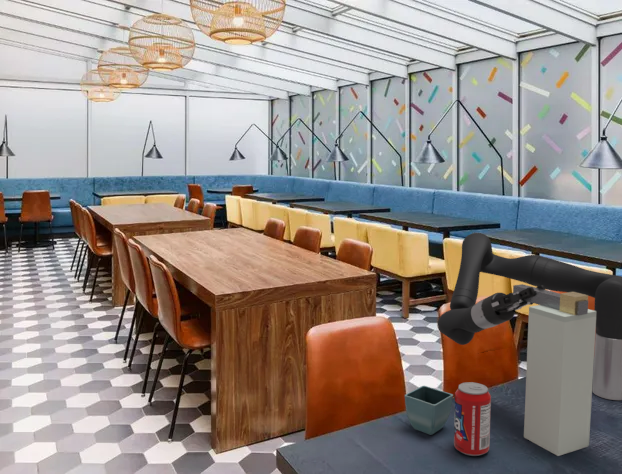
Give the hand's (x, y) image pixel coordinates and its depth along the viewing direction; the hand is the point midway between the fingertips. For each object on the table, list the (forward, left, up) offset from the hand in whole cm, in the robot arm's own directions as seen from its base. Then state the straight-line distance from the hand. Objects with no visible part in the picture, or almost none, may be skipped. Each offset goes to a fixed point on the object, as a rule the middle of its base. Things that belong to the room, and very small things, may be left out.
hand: (538, 290), depth 138 cm
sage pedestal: (+2, +7, -35) cm, 36 cm away
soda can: (+20, -4, -35) cm, 41 cm away
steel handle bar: (+1, +3, -3) cm, 4 cm away
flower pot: (+19, -17, -35) cm, 43 cm away
